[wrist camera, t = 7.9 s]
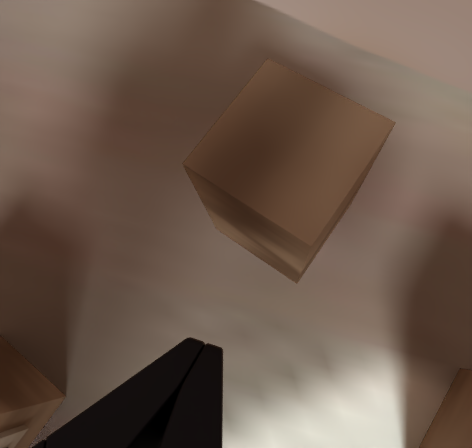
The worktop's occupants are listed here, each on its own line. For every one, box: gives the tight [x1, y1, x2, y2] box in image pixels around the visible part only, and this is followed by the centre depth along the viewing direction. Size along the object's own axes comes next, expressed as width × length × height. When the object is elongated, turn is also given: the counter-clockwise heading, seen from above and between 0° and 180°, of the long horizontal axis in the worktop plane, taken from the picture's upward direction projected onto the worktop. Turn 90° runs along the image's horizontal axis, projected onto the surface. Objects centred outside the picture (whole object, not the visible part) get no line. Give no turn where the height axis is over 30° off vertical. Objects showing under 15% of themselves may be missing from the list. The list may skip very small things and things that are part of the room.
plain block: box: [182, 59, 395, 284], centre depth 19 cm, size 6×6×9 cm
